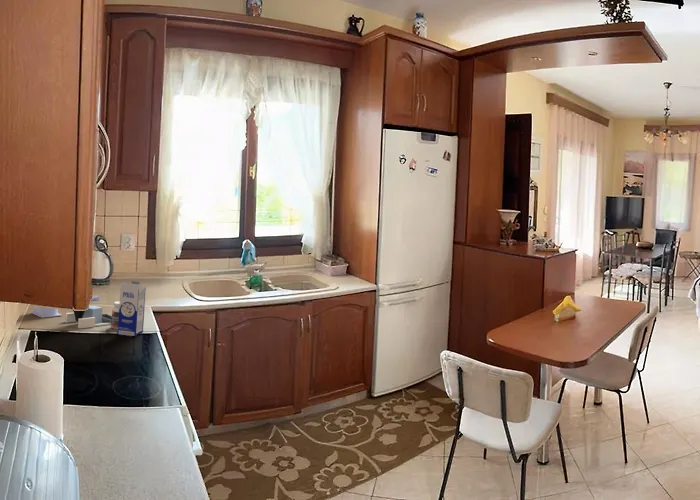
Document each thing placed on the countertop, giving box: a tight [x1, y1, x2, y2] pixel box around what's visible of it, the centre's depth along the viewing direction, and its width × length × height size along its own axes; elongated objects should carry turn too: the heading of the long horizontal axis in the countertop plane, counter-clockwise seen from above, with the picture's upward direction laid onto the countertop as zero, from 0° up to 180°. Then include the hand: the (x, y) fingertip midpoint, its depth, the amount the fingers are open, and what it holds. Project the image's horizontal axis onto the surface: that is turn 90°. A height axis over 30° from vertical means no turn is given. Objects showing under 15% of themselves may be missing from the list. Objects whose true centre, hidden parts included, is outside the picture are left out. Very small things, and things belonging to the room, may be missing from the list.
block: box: [83, 304, 103, 324], centre depth 229 cm, size 5×5×6 cm
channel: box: [65, 312, 111, 329], centre depth 227 cm, size 11×12×4 cm
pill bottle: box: [110, 300, 120, 330], centre depth 225 cm, size 6×6×10 cm
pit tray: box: [102, 313, 112, 323], centre depth 233 cm, size 11×4×2 cm, turn 51°
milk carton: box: [117, 280, 147, 337], centre depth 217 cm, size 7×7×20 cm
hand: (78, 320), depth 224 cm, fingers closed
